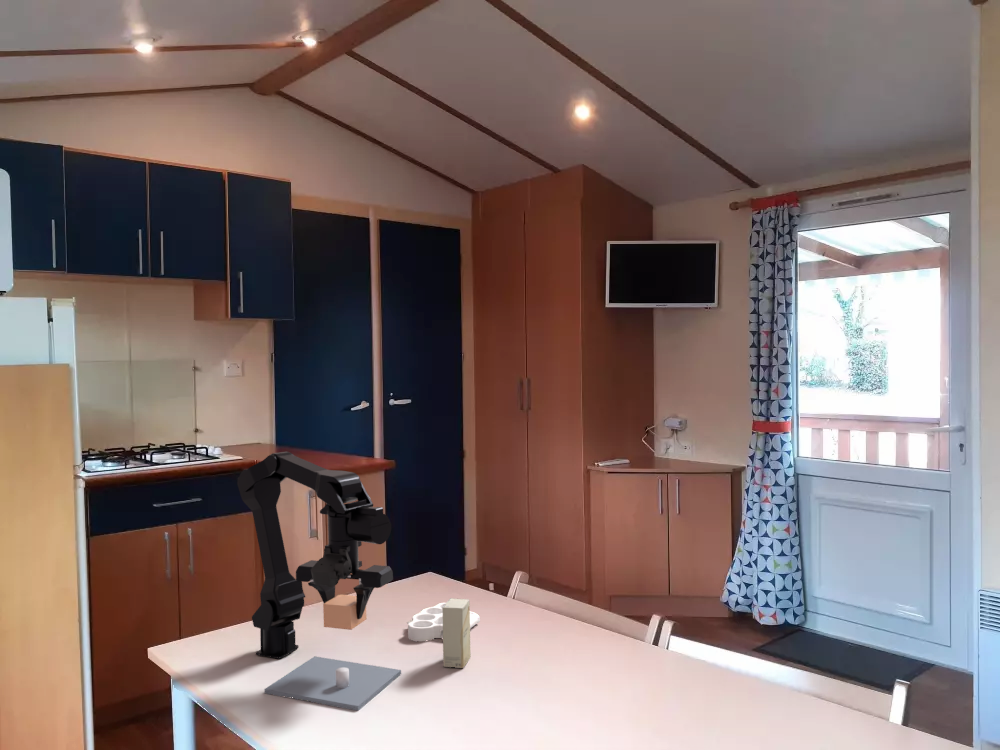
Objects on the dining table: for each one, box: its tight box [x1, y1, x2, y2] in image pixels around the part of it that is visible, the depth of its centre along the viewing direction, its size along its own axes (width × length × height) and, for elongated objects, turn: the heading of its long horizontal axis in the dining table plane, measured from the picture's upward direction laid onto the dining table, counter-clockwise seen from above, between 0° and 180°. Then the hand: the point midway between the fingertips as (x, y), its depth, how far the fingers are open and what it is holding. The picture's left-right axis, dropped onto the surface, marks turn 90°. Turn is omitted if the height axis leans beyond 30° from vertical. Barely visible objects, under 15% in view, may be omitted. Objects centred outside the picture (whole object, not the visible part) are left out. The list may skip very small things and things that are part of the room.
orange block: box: [322, 594, 367, 631], centre depth 146 cm, size 6×6×4 cm
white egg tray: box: [406, 602, 481, 642], centre depth 171 cm, size 3×18×15 cm
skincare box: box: [442, 598, 472, 669], centre depth 152 cm, size 6×4×12 cm
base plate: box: [264, 655, 402, 711], centre depth 142 cm, size 20×16×4 cm
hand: (345, 617), depth 146 cm, fingers closed on orange block, 6 cm apart
